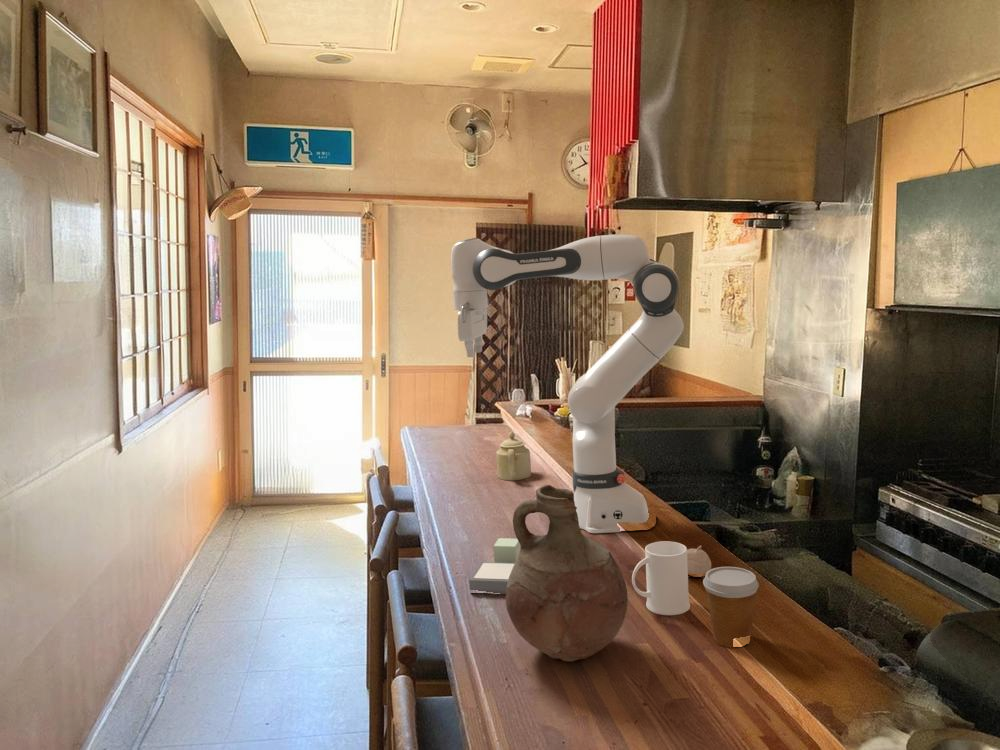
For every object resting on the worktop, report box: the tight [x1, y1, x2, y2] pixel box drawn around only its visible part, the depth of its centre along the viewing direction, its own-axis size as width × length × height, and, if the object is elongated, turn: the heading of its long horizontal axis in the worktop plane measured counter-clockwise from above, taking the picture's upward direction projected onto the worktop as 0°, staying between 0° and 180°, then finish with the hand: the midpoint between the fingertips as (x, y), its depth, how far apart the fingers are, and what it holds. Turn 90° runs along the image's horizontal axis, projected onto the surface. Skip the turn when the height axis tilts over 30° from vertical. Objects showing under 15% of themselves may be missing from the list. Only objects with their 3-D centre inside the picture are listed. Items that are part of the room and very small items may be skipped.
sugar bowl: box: [495, 430, 532, 481], centre depth 254 cm, size 15×11×15 cm
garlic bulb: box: [687, 545, 712, 575], centre depth 168 cm, size 7×6×8 cm
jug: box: [505, 484, 629, 662], centre depth 138 cm, size 22×22×30 cm
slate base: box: [468, 561, 515, 594], centre depth 171 cm, size 10×10×3 cm
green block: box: [493, 537, 520, 563], centre depth 180 cm, size 5×5×6 cm
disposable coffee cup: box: [702, 566, 760, 649], centre depth 139 cm, size 10×10×12 cm
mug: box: [631, 540, 691, 616], centre depth 154 cm, size 12×8×12 cm
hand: (474, 354), depth 206 cm, fingers open, 8 cm apart
